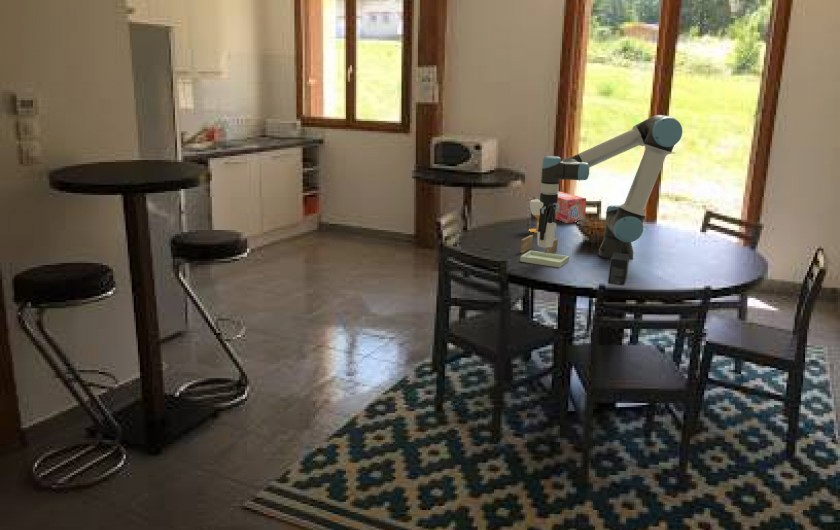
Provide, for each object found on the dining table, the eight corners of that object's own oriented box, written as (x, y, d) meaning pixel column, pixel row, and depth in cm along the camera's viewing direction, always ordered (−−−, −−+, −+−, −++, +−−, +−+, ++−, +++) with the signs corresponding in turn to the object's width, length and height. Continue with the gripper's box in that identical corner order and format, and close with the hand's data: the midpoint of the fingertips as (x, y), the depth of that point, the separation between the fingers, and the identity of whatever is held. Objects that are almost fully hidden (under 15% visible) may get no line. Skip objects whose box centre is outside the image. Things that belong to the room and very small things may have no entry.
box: (539, 214, 397) (540, 191, 393) (557, 213, 402) (559, 190, 398) (566, 224, 373) (568, 199, 369) (585, 222, 378) (587, 197, 374)
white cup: (554, 248, 292) (556, 225, 289) (535, 247, 294) (537, 224, 291) (554, 244, 299) (556, 221, 297) (536, 242, 301) (538, 220, 298)
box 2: (624, 285, 266) (627, 260, 263) (607, 283, 268) (609, 258, 265) (627, 278, 275) (629, 253, 272) (610, 276, 278) (612, 251, 275)
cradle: (556, 251, 316) (557, 238, 314) (547, 256, 306) (548, 243, 304) (530, 247, 322) (530, 234, 320) (520, 252, 312) (521, 239, 310)
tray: (568, 261, 299) (569, 256, 298) (559, 267, 289) (560, 262, 288) (530, 255, 308) (530, 250, 307) (520, 261, 298) (520, 256, 297)
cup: (525, 229, 358) (527, 199, 353) (540, 228, 360) (542, 198, 356) (533, 233, 349) (535, 202, 345) (549, 232, 352) (551, 202, 348)
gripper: (549, 188, 300) (545, 239, 307) (532, 195, 283) (528, 248, 290) (565, 190, 297) (561, 241, 303) (549, 197, 280) (545, 251, 286)
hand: (545, 244), depth 296 cm, fingers closed on white cup, 8 cm apart
